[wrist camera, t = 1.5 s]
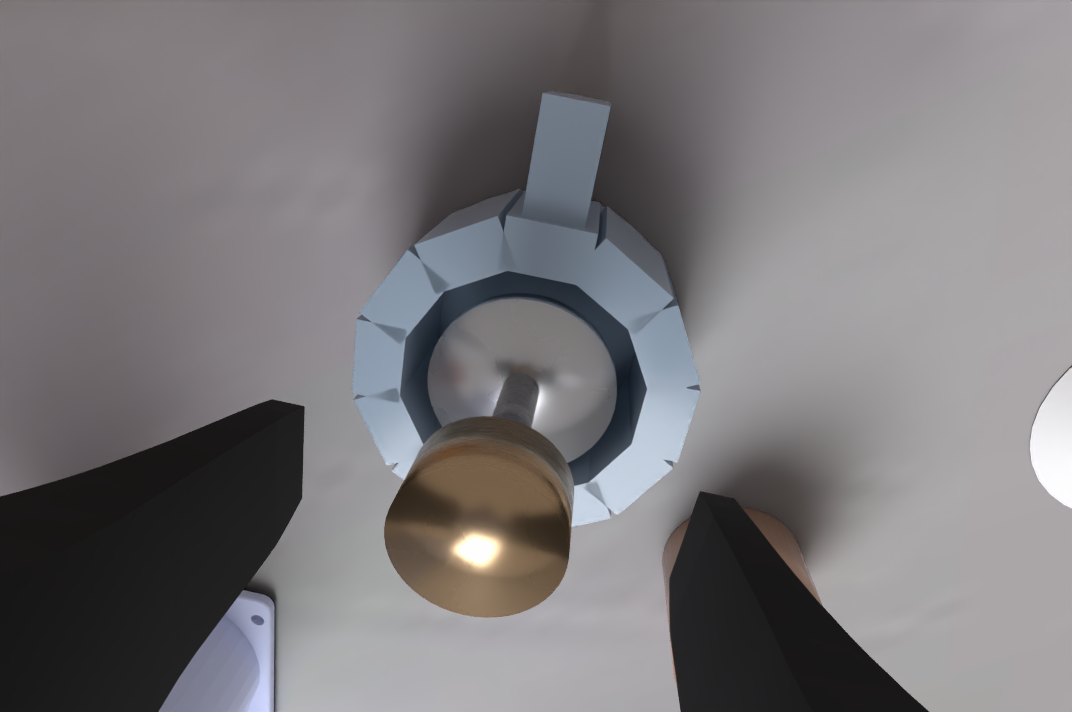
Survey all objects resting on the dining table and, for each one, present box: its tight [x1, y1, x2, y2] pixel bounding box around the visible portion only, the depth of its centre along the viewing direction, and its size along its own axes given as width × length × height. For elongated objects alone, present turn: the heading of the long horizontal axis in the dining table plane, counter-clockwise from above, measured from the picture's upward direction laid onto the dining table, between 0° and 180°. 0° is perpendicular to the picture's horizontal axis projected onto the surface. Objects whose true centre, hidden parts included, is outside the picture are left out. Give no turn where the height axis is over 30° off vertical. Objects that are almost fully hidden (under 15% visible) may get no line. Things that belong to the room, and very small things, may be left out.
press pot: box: [352, 91, 701, 527], centre depth 17 cm, size 11×8×4 cm
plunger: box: [384, 293, 617, 617], centre depth 13 cm, size 5×5×6 cm
